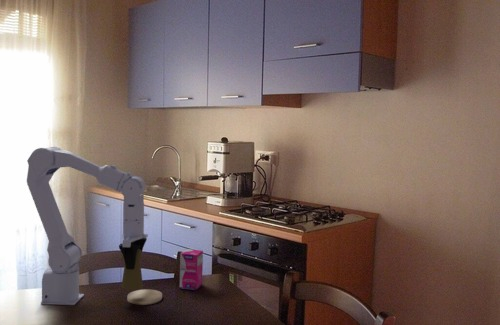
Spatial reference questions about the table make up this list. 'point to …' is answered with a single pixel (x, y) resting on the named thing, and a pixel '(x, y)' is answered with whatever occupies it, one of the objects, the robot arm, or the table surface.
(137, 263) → the cork
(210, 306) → the table surface
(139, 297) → the coaster
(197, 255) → the supplement box
